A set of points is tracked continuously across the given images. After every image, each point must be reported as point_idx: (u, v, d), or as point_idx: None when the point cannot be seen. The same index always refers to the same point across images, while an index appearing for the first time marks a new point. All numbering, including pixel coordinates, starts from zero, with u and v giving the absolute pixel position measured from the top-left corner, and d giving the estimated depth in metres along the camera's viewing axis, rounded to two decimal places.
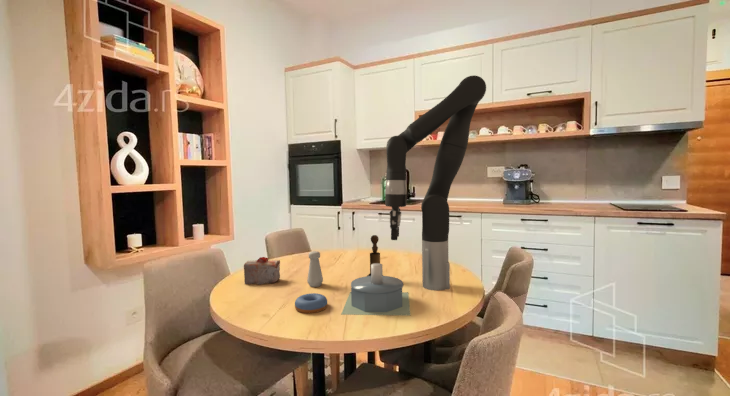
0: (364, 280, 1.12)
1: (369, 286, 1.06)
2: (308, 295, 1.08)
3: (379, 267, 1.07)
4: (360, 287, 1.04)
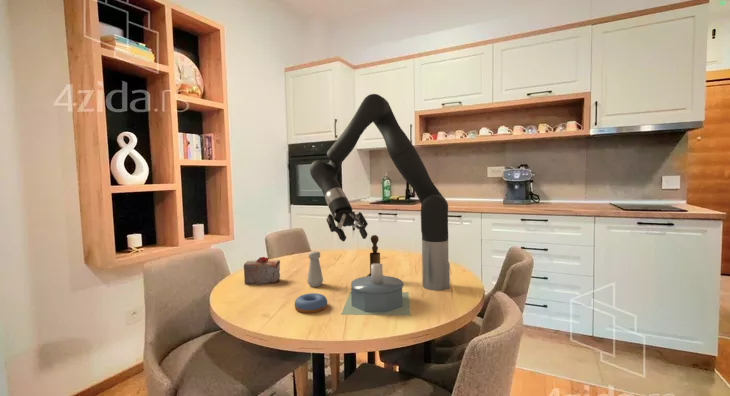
0: (364, 280, 1.12)
1: (369, 286, 1.06)
2: (308, 295, 1.08)
3: (379, 267, 1.07)
4: (360, 287, 1.04)
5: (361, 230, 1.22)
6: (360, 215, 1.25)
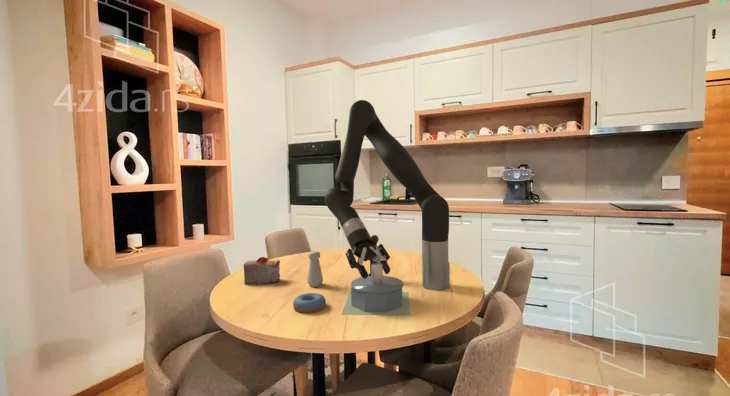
0: (364, 280, 1.12)
1: (369, 286, 1.06)
2: (306, 295, 1.09)
3: (379, 267, 1.07)
4: (360, 287, 1.04)
5: (383, 264, 1.12)
6: (381, 247, 1.16)
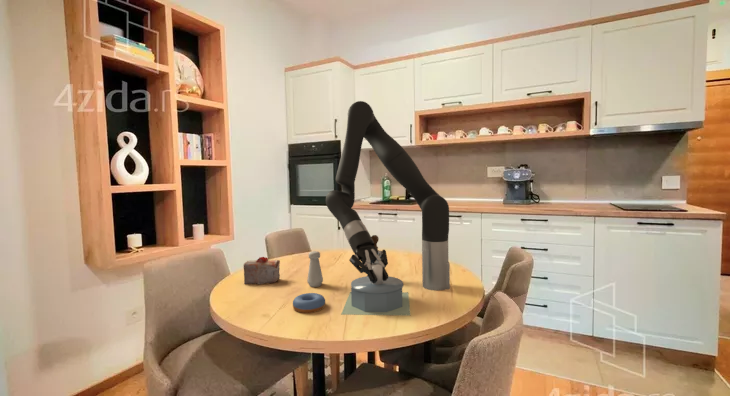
0: (364, 280, 1.12)
1: (369, 286, 1.06)
2: (306, 295, 1.09)
3: (379, 267, 1.07)
4: (360, 287, 1.04)
5: None
6: (383, 253, 1.14)
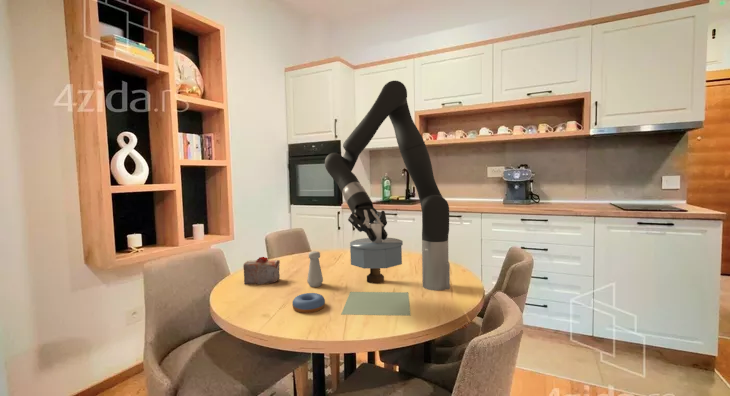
0: (363, 240, 1.11)
1: (368, 244, 1.05)
2: (306, 295, 1.09)
3: (378, 225, 1.07)
4: (359, 245, 1.04)
5: None
6: (382, 213, 1.14)
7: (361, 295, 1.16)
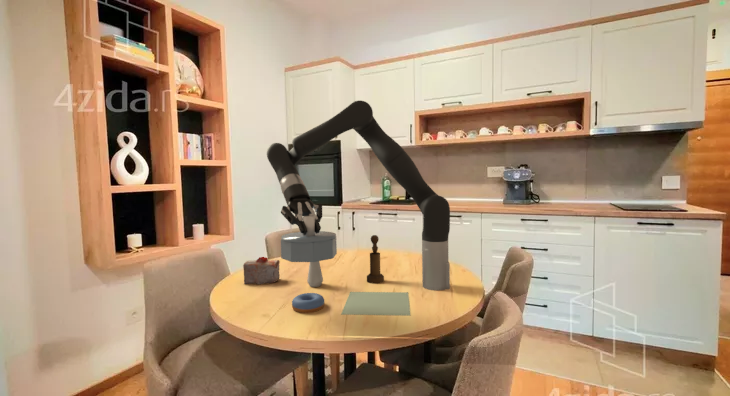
0: (297, 234, 1.08)
1: (298, 237, 1.02)
2: (305, 295, 1.09)
3: (310, 218, 1.03)
4: (288, 238, 1.01)
5: None
6: (319, 206, 1.10)
7: (361, 295, 1.16)
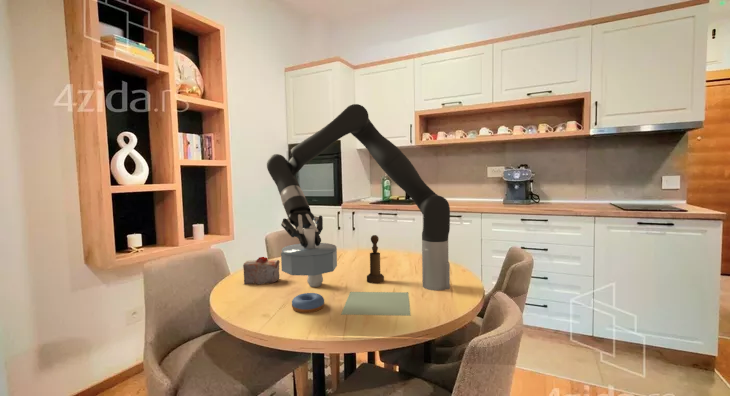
0: (298, 246, 1.08)
1: (299, 250, 1.02)
2: (305, 295, 1.09)
3: (310, 231, 1.03)
4: (288, 251, 1.01)
5: None
6: (319, 218, 1.11)
7: (361, 295, 1.16)
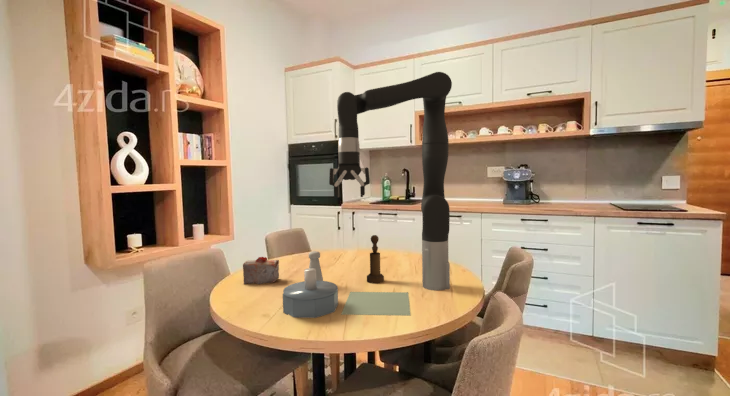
0: (299, 285, 1.09)
1: (300, 291, 1.03)
2: None
3: (312, 272, 1.04)
4: (290, 293, 1.01)
5: None
6: (365, 171, 1.21)
7: (361, 295, 1.16)
